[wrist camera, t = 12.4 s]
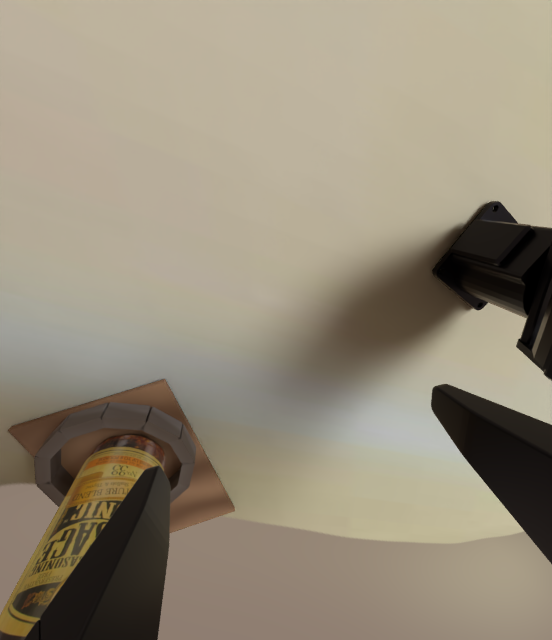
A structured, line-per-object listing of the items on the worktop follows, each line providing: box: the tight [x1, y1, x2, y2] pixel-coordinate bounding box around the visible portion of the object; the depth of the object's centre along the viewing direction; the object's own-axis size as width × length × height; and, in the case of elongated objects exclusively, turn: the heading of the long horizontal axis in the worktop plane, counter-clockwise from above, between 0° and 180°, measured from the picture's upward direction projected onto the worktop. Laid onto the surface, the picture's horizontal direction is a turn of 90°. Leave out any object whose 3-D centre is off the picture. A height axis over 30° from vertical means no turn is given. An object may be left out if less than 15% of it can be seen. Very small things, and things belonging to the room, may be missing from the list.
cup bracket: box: [8, 379, 235, 533], centre depth 25 cm, size 18×12×2 cm, turn 14°
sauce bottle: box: [0, 435, 166, 640], centre depth 15 cm, size 7×6×20 cm
